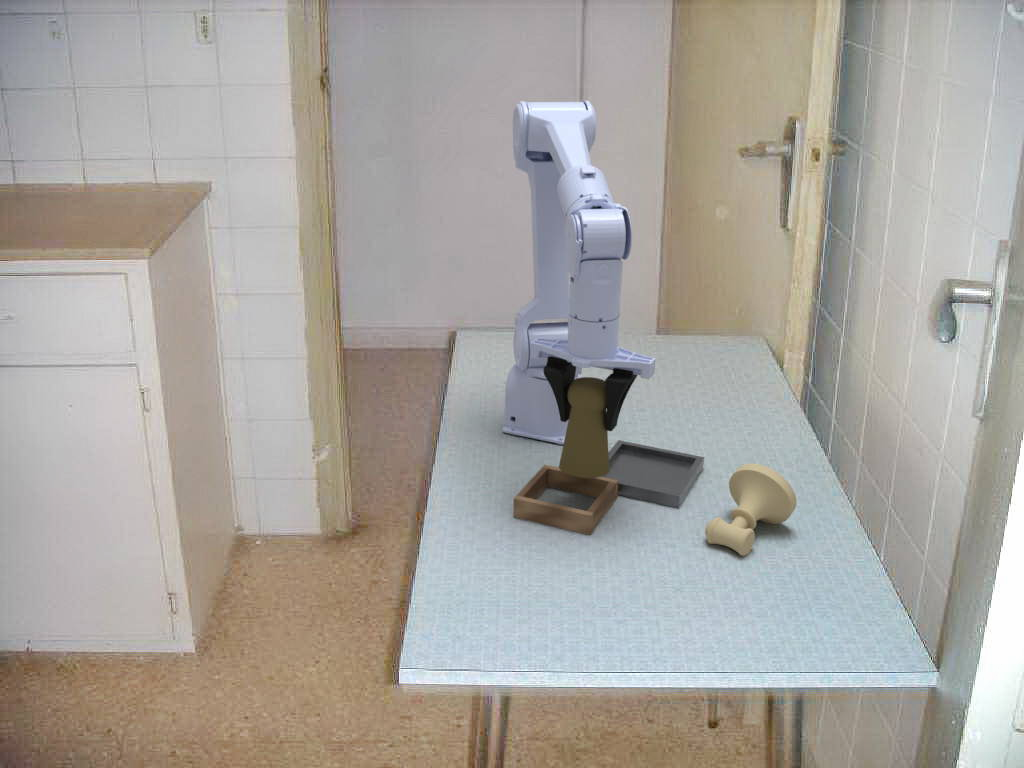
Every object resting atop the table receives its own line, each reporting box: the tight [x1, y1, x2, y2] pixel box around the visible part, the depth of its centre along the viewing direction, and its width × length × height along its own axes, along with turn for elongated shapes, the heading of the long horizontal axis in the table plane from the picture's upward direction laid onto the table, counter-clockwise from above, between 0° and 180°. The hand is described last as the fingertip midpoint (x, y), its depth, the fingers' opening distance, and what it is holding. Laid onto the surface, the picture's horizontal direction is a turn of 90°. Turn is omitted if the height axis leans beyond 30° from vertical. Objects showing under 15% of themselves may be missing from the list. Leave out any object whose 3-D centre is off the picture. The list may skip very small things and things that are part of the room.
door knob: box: [704, 463, 797, 557], centre depth 124 cm, size 10×8×8 cm
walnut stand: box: [512, 464, 618, 536], centre depth 129 cm, size 10×10×2 cm
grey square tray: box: [601, 439, 705, 509], centre depth 137 cm, size 12×12×2 cm
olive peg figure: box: [558, 376, 609, 478], centre depth 127 cm, size 6×6×11 cm
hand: (588, 423), depth 128 cm, fingers closed on olive peg figure, 5 cm apart
